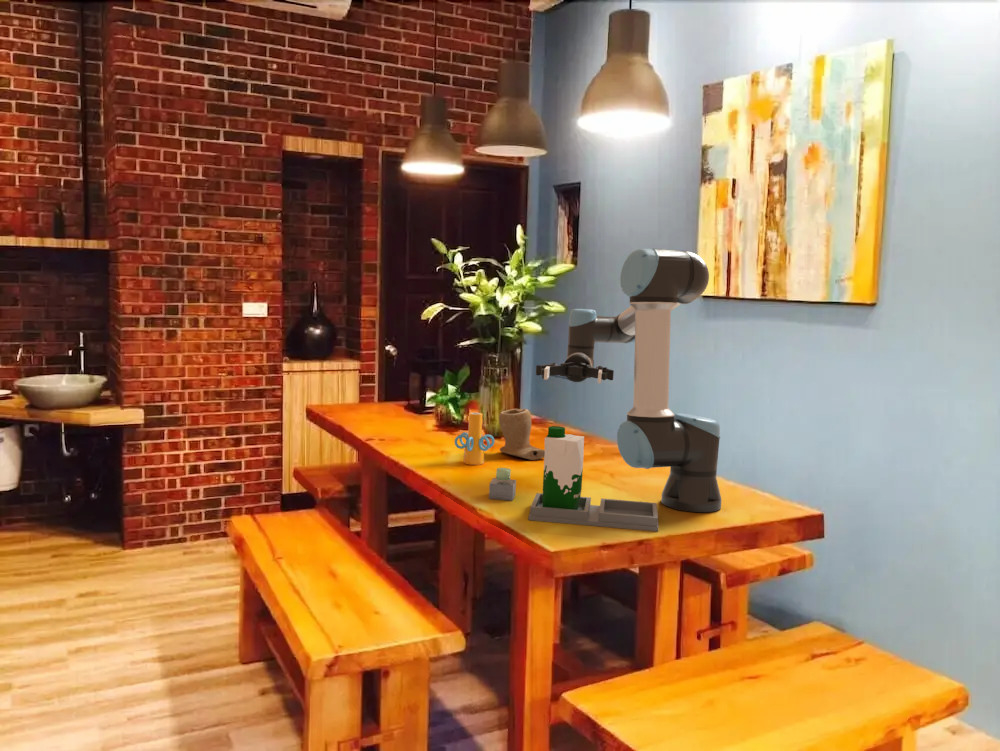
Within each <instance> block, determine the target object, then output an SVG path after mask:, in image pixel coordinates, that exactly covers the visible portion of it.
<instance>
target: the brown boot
mask: <svg viewBox="0 0 1000 751" xmlns="http://www.w3.org/2000/svg"><path fill="white" fill-rule="evenodd" d="M498 421H499V426H500V429H501V431H502V435H503V438H504V445H503V446H502V447H500V448H499V451H500V452H501V453H503V454H506V455H510V456H513V457H518V458H521V459H527V460H531V461H536V460H540V459H543V458H544V456H545V449H542V448H539V447H535V446H532V445H531V444H530V438H531V437H530V436H531V430H532V415H531V412H530V410H529V409H527V408H523V409H520V408H511V409H507V410H503V411H501V412H500V413H499V415H498Z"/></svg>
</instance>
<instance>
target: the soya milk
mask: <svg viewBox="0 0 1000 751" xmlns="http://www.w3.org/2000/svg"><path fill="white" fill-rule="evenodd" d="M547 428H548V429H547V435H546V437H544V450H545V456H544V459H543V476H542V477H543V478H542V479H543V480H542V493H543V507H549V508H560V509H572V510H577V509H578V507H579V502H580V497H582V486H583V468H584V456H585V455H584V447H585V446H584V444H585V436H581V435H574V434H567V433H566V428H565V426H560V425H556V426H555V425H552V426H548V427H547Z"/></svg>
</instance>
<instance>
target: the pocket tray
mask: <svg viewBox="0 0 1000 751" xmlns="http://www.w3.org/2000/svg"><path fill="white" fill-rule="evenodd" d="M591 499H592V497H590V496H588V497H587V496H580V502H579V507H578V509H577V510H572V509H560V508H549V507H543V492H542V493H540V492H536V493H535V496H534V498H533V500H532V503H531V505H530V509H529V510H530V511H529V514H528V521H536V522H548V523H557V524H571V525H581V526H592V527H603V528H605V527H606V528H613V529H615V528H616V529H626V530H627V529H628V530H637V531H646V532H647V531H648V532H659V515H658V505H657V504H658V503H657V502H648V501H639V500H638V501H634V500H623V499H612V498H600V503H599V504H600V505H597V504H591V502H592V500H591Z"/></svg>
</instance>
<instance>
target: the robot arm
mask: <svg viewBox="0 0 1000 751" xmlns="http://www.w3.org/2000/svg"><path fill="white" fill-rule="evenodd" d="M619 279H620V280H619V282H620V287H621V290H622V292H623V293H624V294H625V295H626V296H627V297H629V307H628V308H626V309H625V310H624V311H622V312H620V313H619V314H618V315H616V316H603V315H597V311H596V310H594V309H590V308H589V309H586V308H573V309H571V311H570V314H569V318H568V343H567V352H566V359H565V362H564V363H563V362H562V363H560V364H559V365H558V364H557V363H556V362H552V363H549V364H548V363H547V364H537V365H535V376H542V377H541V378H542V379H543V380H545V381H547V380H549V378H550V376H560V377H565V378H567V380H569V381H571V382H572V383H573V382H574V383H581V382H584V381H585V380H587V379H591V378H594V379H597V384H602V380H603V381H605V380H608V381H613V380H614V375H615V374H614V370H613V369H609V368H608V367H606V366H605V367H603V366H601V365H598V366H595V367H594V364H595V362H594V352H595V343H612V344H613V343H616V344H617V343H618V344H630V343H634V362H633V363H634V364H633V372H634V373H633V406H632V408H631V409H630V410H629V411H627V413H626V421H624V422H622V423H621V424H619V427H618V429H617V432H616V442H617V443H616V444H617V448H618V451H619V454H620V456H621V457H622V459H623V461H624V462H625V463H626V464H627V465H628V466H629V467H631V468H635V469H646V470H649V469H653V468H654V469H655V468H668V467H669V468H670V469H669V474H668V478H667V480H666V483H665V484H664V487H663V489H662V493H661V499H660V500H661V501H660V502H661V504H662V505H663V506H666V507H668V508H670V509H674V510H678V511H683V512H690V513H691V512H692V513H711V512H712V513H713V512H716V511H719V510H720V509H721V508H722V496H721V492H720V488H719V484H718V480H717V471H718V461H719V460H718V459H719V458H718V457H719V447H720V439H721V435H720V434H721V432H720V431H721V430H720V429H721V427H720V423H719V422H718V420H717V421H716V420H715V419H713V418H709V417H704V416H699V415H695V414H688V413H682V412H681V413H679V412H677V413H675V414H674V412H673V411H672V410H671V409H670V408H669V397H670V396H669V393H670V392H669V389H670V387H669V386H670V356H671V355H670V354H671V351H670V348H671V346H670V345H671V316H672V315H671V314H672V313H671V311H673V310H675V309H676V308H677V307H679V306H680V305H688V304H690V303H692V302H694V301H696V299H698V298H699V297H700V296H702V294H703V293H704V292H705V291H706V289H707V287H708V285H709V280H710V272H709V268H708V266H707V264H706V262H705V261H704V260H703V258H702V257H701V256H699V255H697V254H696V253H694V252H692V251H688V250H673V249H662V248H639V249H635V250H634V251H632V252H631V253H629V255H628V256H627V258H626V259H625V261H624V262H623V264H622V267H621V271H620V278H619Z"/></svg>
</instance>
